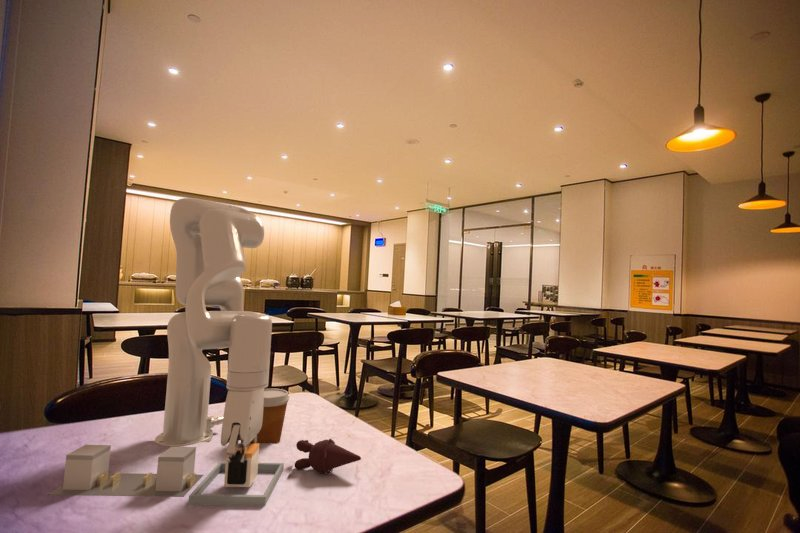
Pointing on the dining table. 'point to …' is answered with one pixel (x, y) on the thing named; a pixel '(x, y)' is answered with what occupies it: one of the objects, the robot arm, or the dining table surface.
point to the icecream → (324, 456)
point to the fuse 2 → (175, 468)
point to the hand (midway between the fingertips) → (241, 475)
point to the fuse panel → (128, 486)
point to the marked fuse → (252, 466)
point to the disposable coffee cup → (273, 416)
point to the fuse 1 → (86, 466)
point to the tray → (251, 500)
